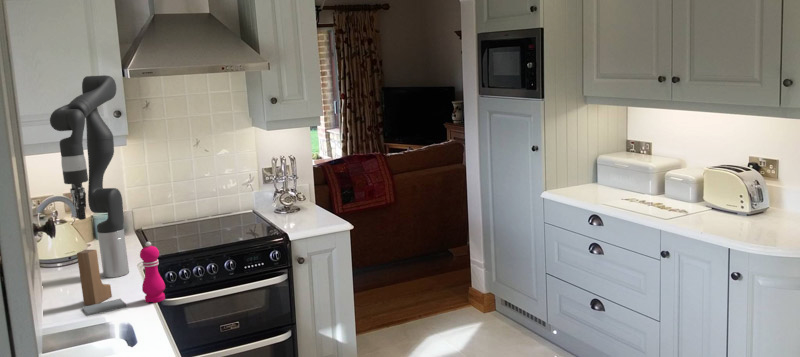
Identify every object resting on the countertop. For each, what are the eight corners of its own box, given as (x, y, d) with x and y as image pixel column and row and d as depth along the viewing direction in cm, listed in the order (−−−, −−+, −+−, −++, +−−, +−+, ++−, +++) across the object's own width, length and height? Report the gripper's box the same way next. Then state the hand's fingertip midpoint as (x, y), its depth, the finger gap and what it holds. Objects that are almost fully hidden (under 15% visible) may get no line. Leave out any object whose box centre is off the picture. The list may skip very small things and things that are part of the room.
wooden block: (101, 296, 246) (94, 245, 243) (112, 296, 245) (105, 245, 242) (83, 305, 237) (76, 252, 234) (95, 305, 236) (88, 252, 233)
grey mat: (82, 309, 233) (82, 307, 233) (120, 300, 240) (120, 298, 240) (87, 315, 226) (87, 313, 226) (127, 306, 233) (126, 304, 233)
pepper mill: (144, 305, 233) (137, 245, 230) (143, 299, 240) (135, 241, 236) (167, 301, 236) (160, 242, 233) (165, 295, 242) (158, 237, 239)
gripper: (90, 168, 238) (97, 219, 241) (82, 165, 249) (88, 214, 252) (66, 172, 234) (73, 223, 236) (58, 168, 245) (65, 217, 248)
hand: (81, 218), depth 244 cm, fingers closed
